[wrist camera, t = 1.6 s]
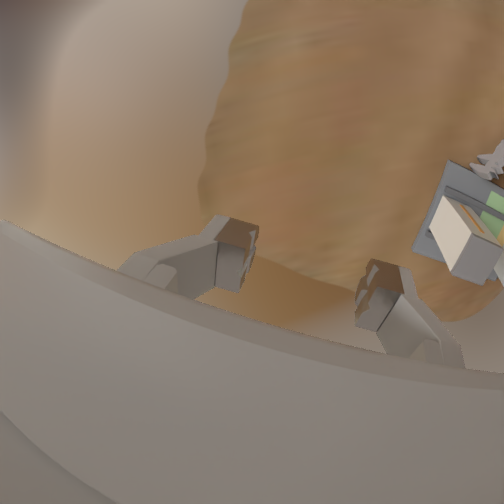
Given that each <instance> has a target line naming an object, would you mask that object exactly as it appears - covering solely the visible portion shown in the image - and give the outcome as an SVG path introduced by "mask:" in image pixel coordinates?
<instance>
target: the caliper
mask: <svg viewBox="0 0 504 504" xmlns="http://www.w3.org/2000/svg"><path fill="white" fill-rule="evenodd" d="M477 158H478V160H479V162H480V163H482V164H485V166H483V165H479V164H474V163H470V167H471V169H472V170H473V172H475V173H476V174H477V175H478V176H480V177H481V178H484V179H487V180H491V179H492V178H496V179H499V177H498V175H497V174H503V173H504V172H503V170H502V167H503V166H504V139H503V140H502V141H501V142H500V144H499V145H498V146H497V147H496V149H495V152H494V153H493V154H485V155H478V156H477Z"/></svg>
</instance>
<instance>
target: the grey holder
mask: <svg viewBox="0 0 504 504" xmlns="http://www.w3.org/2000/svg"><path fill="white" fill-rule="evenodd" d="M443 195H445V196H447V197H449V198H452V199H454V200H456V201H458V202H461V203H463V204H465V205H467V206H469V207H471V208H472V209H473V211H474V212H475V213H476V214H477V215H478V217H479V218H480V219H481V220H482V221H483V223H484V224H485V225H486V226H487V228H488V229H489V230H490V232H491V233H492V234H493V235H494V237H495V238H496V239H497V241H498V242H499V243H500V245H501V246H502V248H503V249H504V189H503V188H501V187H499V186H498V185H496V184H494V183H492V182H491V181H489V180H487V179H484V178H481V177H480V176H478V175H477V174H476V173H474V172H472V171H470V170H469V169H467V168H465V167H463V166H461V165H459V164H457V163H454V162H452V161H450V160H448V161H447V164H446V167H445V170H444V172H443V175H442V178H441V181H440V183H439V186H438V189H437V191H436V194H435V196H434V199H433V201H432V204H431V206H430V208H429V211H428V213H427V215H426V218H425V220H424V222H423V224H422V227H421V229H420V231H419V233H418V235H417V237H416V240H415V242H414V244H413V246H412V251H413V252H415V253H418V254H421V255H424V256H427V257H429V258H432V259H435V260H438V261H441V262H444V263H446V261H445V259H444V257H443V254H442V252H441V250H440V248H439V246H438V244H437V242H436V240H435V238H434V236H433V234H432V232H431V230H430V228H429V226H430V224H431V222H432V219H433V217H434V215H435V213H436V210H437V208H438V206H439V203H440V201H441V198H442V196H443ZM497 277H499V279H500V281H501V283H502V284H503V286H504V251H503V252H502V254H501V256H500V258H499V260H498V261H497V263H496V265H495V266H494V268H493V270H492V271H491V273H490V275H489V276H488V278H487V279H490V280H492V281H496V279H497Z"/></svg>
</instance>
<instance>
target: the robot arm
mask: <svg viewBox="0 0 504 504" xmlns="http://www.w3.org/2000/svg"><path fill="white" fill-rule="evenodd" d="M258 234H259V226H258V225H255V224H251V223H248V222H244V221H241V220H237V219H234V218H231V217H227V216H223V215H216V216H215V217H214V218H213V219H212V220H211V221H210V223H209V224H208V225H207V226H206V227H205V228H204V230H203V231H202V232H201V233H200V234H199V235H198V236H197V235H192V236H188V237H185V238H181V239H178V240H175V241H171V242H168V243H165V244H161V245H159V246H155V247H152V248H148V249H145V250H142V251H138V252H135V253H134V254H133V255H132V256H131V257H130V258H128V260H126V261H125V263H124V264H122V265H121V267H120V268H119V269H118V270H117V271H116V270H114V269H111V268H109V267H106V266H104V265H102V264H99V263H97V262H94V261H92V260H90V259H87V258H85V257H83V256H80V255H78V254H76V253H74V252H71V251H69V250H67V249H64V248H62V247H60V246H58V245H56V244H54V243H51V242H49V241H47V240H45V239H43V238H41V237H39V236H37V235H35V234H32V233H31V232H29V231H26V230H24V229H22V228H20V227H18V226H17V225H15V224H13V223H11V222H9V221H6V220H0V504H504V373H496V372H488V371H480V370H472V369H466V368H465V364H464V360H463V355H462V351H461V347H460V344H459V343H458V342H457V341H456V339H455V338H454V337H453V336H452V335H451V333H450V332H449V331H448V330H447V328H446V327H445V326H444V325H443V324H442V322H441V321H440V320H439V319H438V318H437V316H436V315H435V314H434V313H433V312H432V311H431V310H430V308H429V307H428V306H427V305H426V304H425V303H424V302H423V300H421V299H418V295H417V291H416V288H415V284H414V280H413V277H412V273H411V270H410V269H408V268H405V267H401V266H397V265H394V264H390V263H387V262H383V261H379V260H376V259H370V261H369V262H368V265H367V267H366V275H365V276H363V277H362V278H361V279H360V282H359V284H358V286H357V290H356V294H355V304H356V305H357V309H356V311H355V326H356V327H359V328H363V329H367V330H370V331H374V332H377V333H376V334H377V336H378V338H379V340H380V341H381V343H382V345H383V347H384V349H385V351H386V353H387V354H384V353H380V352H375V351H370V350H366V349H362V348H357V347H353V346H349V345H345V344H341V343H337V342H333V341H329V340H325V339H321V338H317V337H314V336H310V335H306V334H303V333H299V332H295V331H292V330H288V329H285V328H281V327H277V326H274V325H271V324H268V323H264V322H261V321H257V320H254V319H251V318H248V317H245V316H242V315H238V314H235V313H232V312H229V311H226V310H223V309H220V308H217V307H214V306H210V305H208V304H205V303H202V302H199V301H196V300H193V299H195V298H197V297H199V296H200V295H202V294H204V293H205V292H207V291H209V290H211V289H213V288H214V286H215V287H218V288H222V289H226V290H229V291H232V292H236V293H239V291H240V289H241V287H242V285H243V283H244V281H245V275H246V273H248V272H249V270H250V268H251V265H252V262H253V259H254V255H255V250H256V247H255V245H254V244H255V242H256V240H257V238H258Z"/></svg>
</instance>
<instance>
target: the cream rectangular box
mask: <svg viewBox="0 0 504 504" xmlns="http://www.w3.org/2000/svg"><path fill="white" fill-rule="evenodd" d="M429 228H430V230H431V232H432V234H433V236H434V238H435V240H436V242H437V244H438V246H439V248H440V250H441V252H442V254H443V257H444V259H445V261H446V263H447V265H448V268H449V270H450V272H451V274H452V275H453V276H456V277H459V278H462V279H464V280H467V281H470V282H473V283H476V284H479V285H481V286H482V285H483V284H484V282H485V281H486V279H487V278H488V276H489V275H490V273H491V271H492V270H493V268H494V266H495V265H496V263H497V261H498V260H499V258H500V256H501V254H502V252H503V251H504V249H503V248H502V246H501V245H500V243H499V242H498V241H497V239H496V238H495V237H494V235H493V234H492V233H491V232H490V230H489V229H488V228H487V226H486V225H485V224H484V223H483V221H482V220H481V219H480V218H479V217H478V215H477V214H476V213H475V212H474V211H473V209H472V208H471V207H469V206H467V205H465V204H463V203H461V202H458V201H456V200H454V199H452V198H449V197H447V196H445V195H443V196H442V198H441V201H440V203H439V206H438V208H437V210H436V213H435V215H434V217H433V219H432V222H431V224H430V226H429Z"/></svg>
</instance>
